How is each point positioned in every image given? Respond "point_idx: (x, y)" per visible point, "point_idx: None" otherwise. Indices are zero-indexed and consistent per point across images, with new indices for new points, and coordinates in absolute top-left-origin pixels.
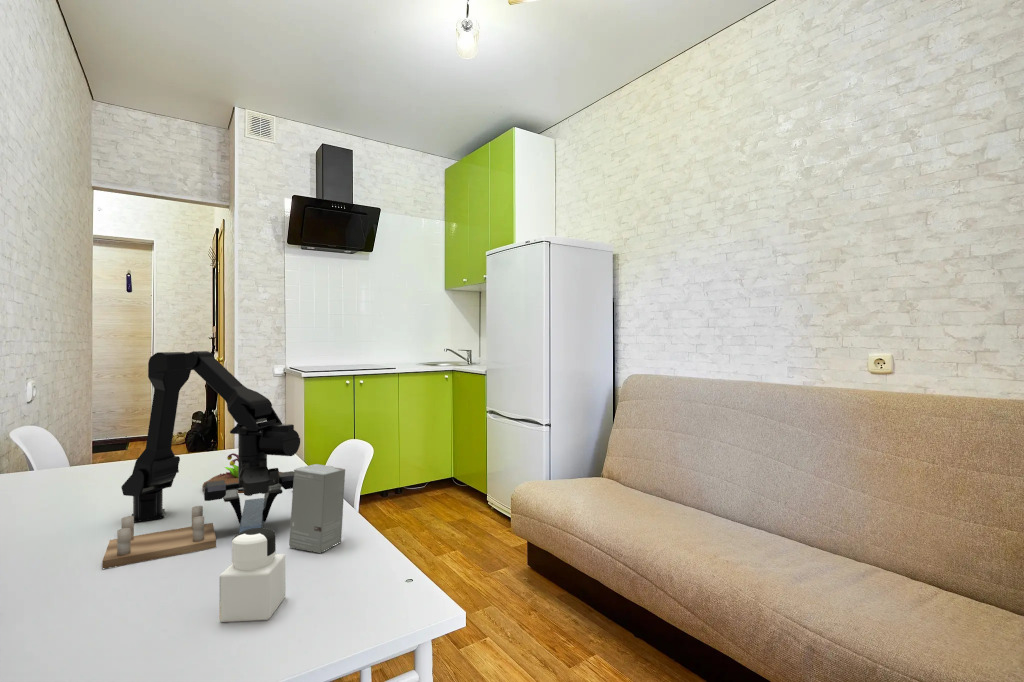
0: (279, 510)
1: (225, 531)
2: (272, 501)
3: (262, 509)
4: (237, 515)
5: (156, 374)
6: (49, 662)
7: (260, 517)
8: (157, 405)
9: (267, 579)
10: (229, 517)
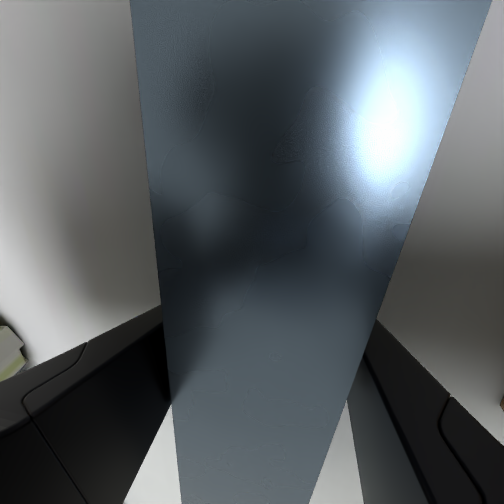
0: (161, 428)
1: (441, 333)
2: (2, 384)
3: (170, 372)
4: (414, 367)
5: None
6: None
7: (158, 99)
8: None
9: None
10: (360, 487)
